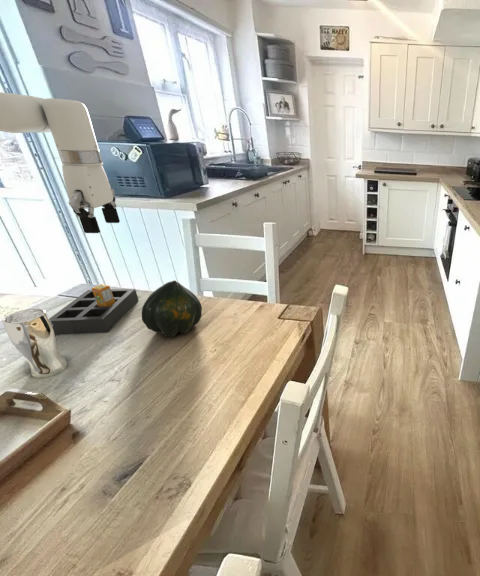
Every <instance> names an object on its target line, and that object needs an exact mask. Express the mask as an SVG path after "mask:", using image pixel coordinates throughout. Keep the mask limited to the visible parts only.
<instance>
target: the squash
mask: <svg viewBox="0 0 480 576" xmlns="http://www.w3.org/2000/svg"><path fill="white" fill-rule="evenodd" d="M202 311H203V308H202V303H201V301H200V300H199V298H198V297H197V296H196V294H194V292H192V291H191V290H190V289H188V288H186V287H185V286H184V285H182V283H180V282H178V281H177V280H170V281H168V282H165V283H164V284H163V285H161V286H160V287H157V288H156V289H155V290H154V291H153V292H152V293H150V294H149V295H148V297H147V299H146V300H145V302H144V303H143V305H142V308H141V320H142V323H143V324H144V325H145V326H146V328H147V329H148V330H151V331H152V332H153V333H159V334H160V333H162V334H163V335H164V336H166V337H168V338H169V337H170V338H173V337H175V336H177V335H178V333H180V334H185V333H188V332H189V331H190V330H191V329H192V327H194V326H196V325H197V324H199V322H200V320H201V318H202Z"/></svg>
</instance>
